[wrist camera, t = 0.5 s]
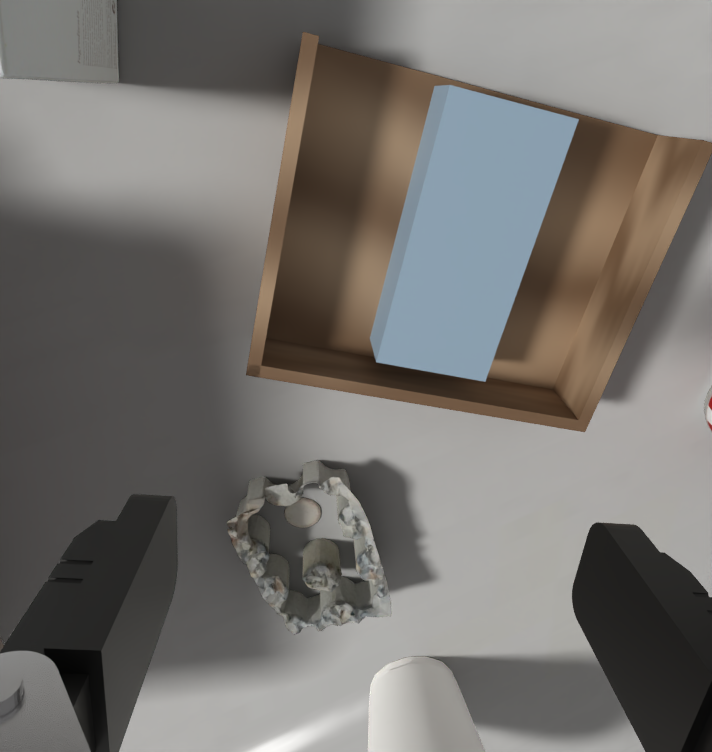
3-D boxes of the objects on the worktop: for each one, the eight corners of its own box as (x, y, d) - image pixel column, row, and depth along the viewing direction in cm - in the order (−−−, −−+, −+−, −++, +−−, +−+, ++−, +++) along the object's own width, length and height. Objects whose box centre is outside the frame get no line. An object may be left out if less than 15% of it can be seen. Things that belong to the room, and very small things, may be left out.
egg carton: (227, 477, 34) (217, 522, 31) (350, 445, 34) (356, 487, 30) (280, 603, 39) (278, 656, 35) (389, 577, 39) (398, 627, 35)
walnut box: (303, 41, 25) (302, 31, 21) (662, 137, 27) (716, 143, 24) (252, 341, 30) (246, 375, 27) (554, 395, 33) (584, 432, 30)
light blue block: (434, 85, 25) (450, 85, 22) (550, 116, 26) (579, 119, 23) (369, 338, 30) (376, 362, 27) (469, 356, 31) (485, 381, 28)
